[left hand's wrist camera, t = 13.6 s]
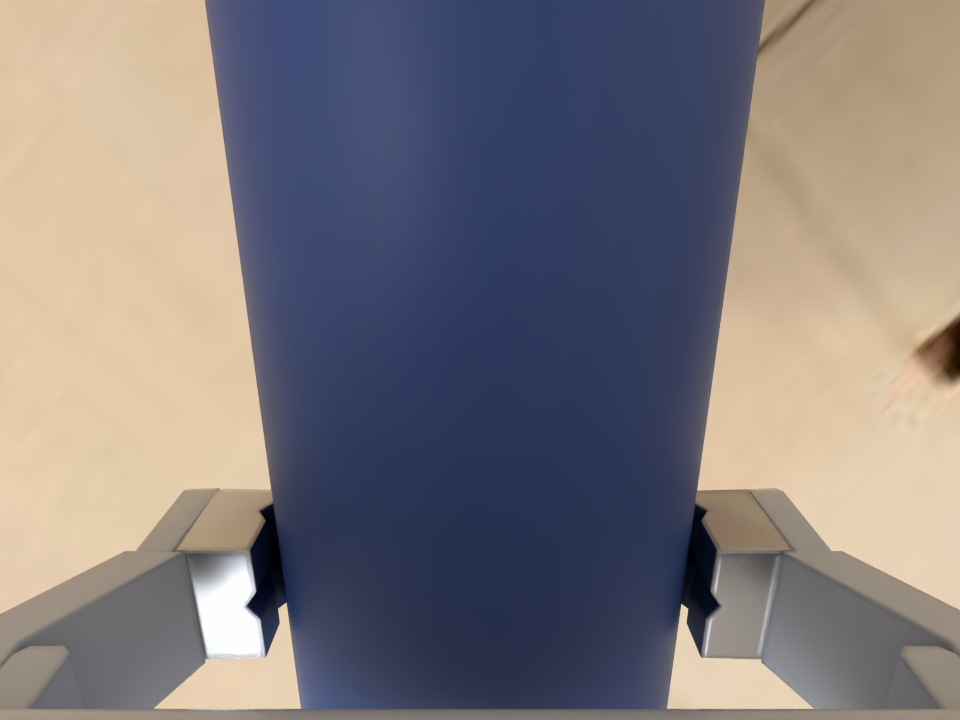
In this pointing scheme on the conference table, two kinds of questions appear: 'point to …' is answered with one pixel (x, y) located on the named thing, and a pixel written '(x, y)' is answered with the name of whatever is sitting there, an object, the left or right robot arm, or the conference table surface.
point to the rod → (484, 329)
